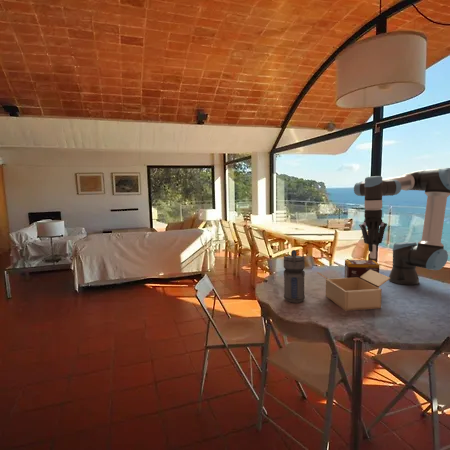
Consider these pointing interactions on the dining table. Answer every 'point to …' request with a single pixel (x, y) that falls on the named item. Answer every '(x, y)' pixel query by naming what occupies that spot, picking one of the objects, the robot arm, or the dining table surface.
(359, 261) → the supplement box
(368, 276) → the flap
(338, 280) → the carton
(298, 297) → the beverage bottle
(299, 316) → the dining table surface
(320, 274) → the flap
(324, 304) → the dining table surface
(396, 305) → the dining table surface
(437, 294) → the dining table surface
